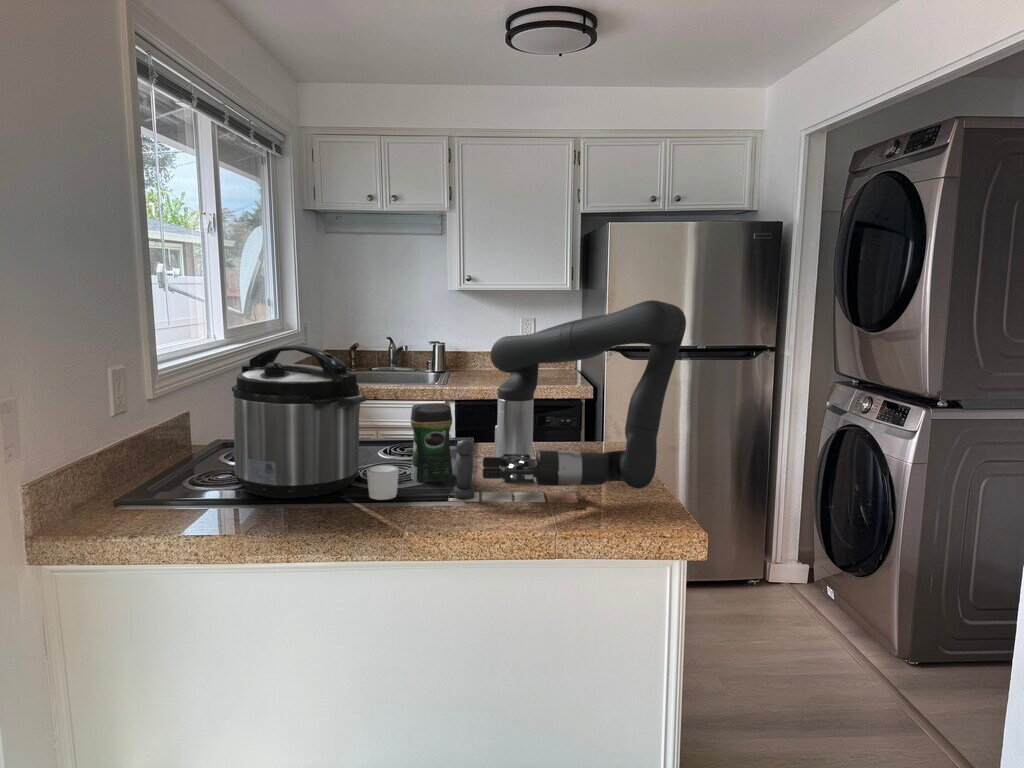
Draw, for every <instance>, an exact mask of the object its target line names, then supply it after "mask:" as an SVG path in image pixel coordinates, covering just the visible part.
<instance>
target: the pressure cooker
mask: <svg viewBox="0 0 1024 768" xmlns="http://www.w3.org/2000/svg"><path fill="white" fill-rule="evenodd" d="M287 351H297V352H300V353H303V354H307V355H309V356H312V357H315V358H316V360H317V361H318V363H319V365H320V366H319V365H318V366H317V365H311V364H310V365H309V364H302V363H301V364H299V363H298V364H297V363H282V364H281V363H280V362H275V361H276V360H277V358H278V356H279V354H280V353H281V352H287ZM347 367H348V366H347V364H346V363H345V362H344V361H342V360H340V359H339V358H337V357H335V356H334V355H333V354H330V353H328V352H326V351H323V350H321V349H317V348H314V347H310V346H305V345H304V346H303V345H296V344H295V345H282V346H276V347H273V348H270V349H266V350H265V351H262V352H260V353H258V354H257V355H254V356H253V357H252V358H250V359H249V364H246V365H242V367H241V372H240V373H238V374H237V375H236V384H234V386H231V392H232V393H233V394H232V395H233V398H232V399H233V437H234V438H233V443H234V444H233V445H234V473H235V477H236V480H237V482H238V483H239V484H240V485H242V487H243V489H244V491H246V492H248V493H250V494H252V495H255V496H260V497H267V498H275V499H276V498H280V499H281V498H282V499H284V498H285V499H288V498H290V499H295V498H311V497H310V496H313V497H319V496H318V495H320V496H324V495H323V494H325V495H327V494H331V493H332V494H333V493H336V492H338V491H339V490H343V489H346V488H348V487H349V486H350V485H352V483H353V482H354V481H355V480H356V478H357V475H358V471H359V468H360V411H361V409H360V408H361V406H360V405H361V403H363V402H367V395H363V394H360V386H359V384H358V381H357V380H358V379H357V378H358V377H357V373H356V372H353V371H349V370H347V369H348V368H347Z"/></svg>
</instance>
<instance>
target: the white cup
mask: <svg viewBox="0 0 1024 768" xmlns="http://www.w3.org/2000/svg"><path fill="white" fill-rule="evenodd" d="M399 473H400V468H399V467H398V466H395V465H391V464H389V465H388V464H379V465H373V466H369V467H367V468H366V478H367V486H368V488H367V489H368V498H370V499H373V500H377V501H383V500H392V499H394V498H396V497H397V496H396V495H398V483H399Z"/></svg>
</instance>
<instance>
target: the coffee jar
mask: <svg viewBox="0 0 1024 768" xmlns="http://www.w3.org/2000/svg"><path fill="white" fill-rule="evenodd" d="M410 412H411V413H410V419H409V421H410V426H411V428H412V430H413V446H412V447H413V448H412V449H413V450H412V458H411V470H410V471H411V472H410V477H411V480H412V481H414V482H417V483H431V482H432V483H433V482H434V483H436V482H446V481H450V480H452V479H453V476H454V474H453V473H454V472H453V465H452V456H451V455H452V453H451V447H450V444H451V443H450V431H451V427H452V425H453V415H452V408H451V406H450V405H449V404H447V403H446V402H445V403H444V402H441V403H440V402H431V403H420V404H413V405H412V407H411V411H410Z"/></svg>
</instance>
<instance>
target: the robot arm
mask: <svg viewBox="0 0 1024 768" xmlns="http://www.w3.org/2000/svg"><path fill="white" fill-rule="evenodd" d="M686 327H687V319H686V315H685V312H684V311H683V310H682V309H681V308H680V307H679V306H677V305H675V304H672V303H669V302H664V301H659V300H655V299H652V300H645V301H642V302H638V303H636V304H634V305H630V306H629V307H626V308H623V309H620V310H618V311H615V312H611V313H608V314H607V313H606V314H600V315H596V316H590V317H585V318H580V319H575V320H572V321H568V322H564V323H561V324H557V325H553V326H550V327H548V328H545V329H542V330H540V331H536V332H533V333H528V334H524V335H521V334H520V335H509V336H508V335H507V336H503V337H501V338H499V339H497V340H496V341H495V342H494V344H493V345H492V347H491V349H490V356H489V357H490V361H491V363H492V365H493V366H494V368H496V369H497V370H498V371H500V372H503V373H508V374H509V376H508V378H507V379H506V380H505V382H504V383H502V384H501V385H499V387H498V390H497V420H496V421H497V422H496V423H497V425H495V426H494V456H484V457H483V459H482V467H483V468H482V478H483V479H486V480H487V479H489V480H493V479H495V480H498V479H499V480H500V479H501V480H504V481H505V482H504V483H505V484H511V483H512V484H513V483H514V484H518V483H519V484H524V483H526V484H528V483H529V484H533V483H534V479H535V482H536V485H537V486H538V487H546V486H547V487H573V486H600V485H604V484H605V483H606V482H624V483H625V484H626V485H627V486H629V487H631V488H632V489H636V490H637V489H643V488H645V487H647V486H649V485H650V484H651V482H652V481H653V479H654V476H655V472H656V469H657V451H658V449H657V448H658V447H657V443H658V442H657V439H658V438H657V437H658V434H659V430H660V424H661V418H662V412H663V407H664V406H663V405H664V402H665V396H666V394H667V393H666V391H667V390H668V389H667V388H668V385H669V383H670V379H671V375H672V372H673V370H674V365H675V364H676V360H677V358H678V357H677V356H678V354H679V351H680V349H681V345H682V342H683V339H684V335H685V332H686ZM634 344H637V345H638V344H641V345H642V344H645V345H650V347H649V356H648V361H647V364H646V367H645V369H644V372H643V374H642V376H641V378H640V380H639V381H638V383H637V385H636V387H635V389H634V390H633V392H632V395H631V398H630V400H629V404H628V408H627V416H626V420H625V427H624V428H625V429H624V435H625V440H626V445H625V449H624V450H614V451H613V450H612V451H606V452H596V451H594V452H592V451H591V452H590V451H575V450H544V449H543V450H541V449H540V450H538V451H536V454H535V455H536V456H535V459H533V441H534V440H533V439H534V435H533V434H534V400H535V399H534V397H535V391H536V389H537V386H538V381H539V380H538V377H539V369H540V367H539V364H556V363H557V364H558V363H570V362H576V361H582V360H588V359H591V358H595V357H598V356H600V355H601V354H603V353H605V352H606V351H608V350H609V349H611V348H614V347H617V346H624V345H634ZM500 467H501V468H502V470H501V468H500ZM516 475H517V476H516Z"/></svg>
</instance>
